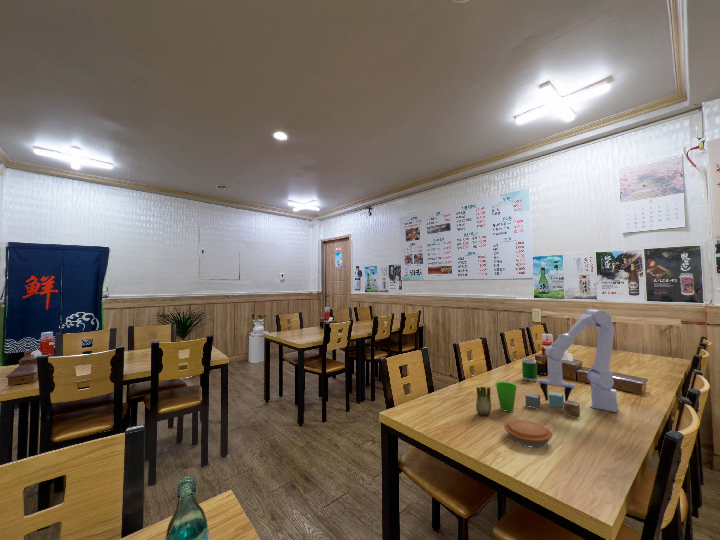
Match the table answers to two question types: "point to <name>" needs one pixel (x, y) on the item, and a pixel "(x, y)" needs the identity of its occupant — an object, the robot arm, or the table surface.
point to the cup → (506, 395)
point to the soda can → (529, 369)
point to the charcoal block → (532, 400)
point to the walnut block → (571, 408)
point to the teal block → (556, 399)
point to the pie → (528, 433)
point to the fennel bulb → (483, 401)
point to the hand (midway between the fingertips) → (556, 401)
